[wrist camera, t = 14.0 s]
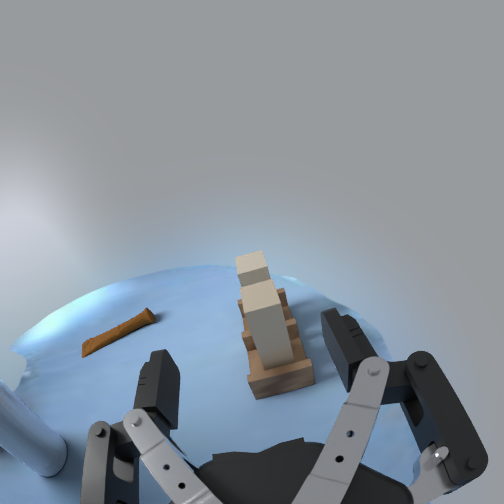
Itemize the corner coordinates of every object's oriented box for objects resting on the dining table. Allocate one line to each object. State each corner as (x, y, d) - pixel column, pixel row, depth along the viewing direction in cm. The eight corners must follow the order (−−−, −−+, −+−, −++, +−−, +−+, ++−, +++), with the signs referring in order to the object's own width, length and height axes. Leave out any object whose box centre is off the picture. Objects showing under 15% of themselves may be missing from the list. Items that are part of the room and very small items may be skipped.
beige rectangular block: (267, 378, 34) (244, 313, 29) (261, 353, 39) (239, 287, 33) (296, 370, 34) (280, 302, 29) (288, 345, 39) (272, 278, 33)
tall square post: (258, 338, 42) (237, 274, 36) (254, 318, 46) (235, 257, 41) (283, 331, 42) (267, 266, 36) (277, 312, 46) (261, 250, 41)
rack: (256, 399, 33) (248, 382, 31) (243, 318, 49) (237, 300, 47) (315, 383, 33) (312, 365, 31) (287, 306, 49) (283, 287, 47)
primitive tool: (82, 359, 47) (73, 347, 46) (83, 345, 52) (75, 333, 50) (158, 325, 53) (151, 311, 52) (154, 312, 58) (147, 299, 56)
